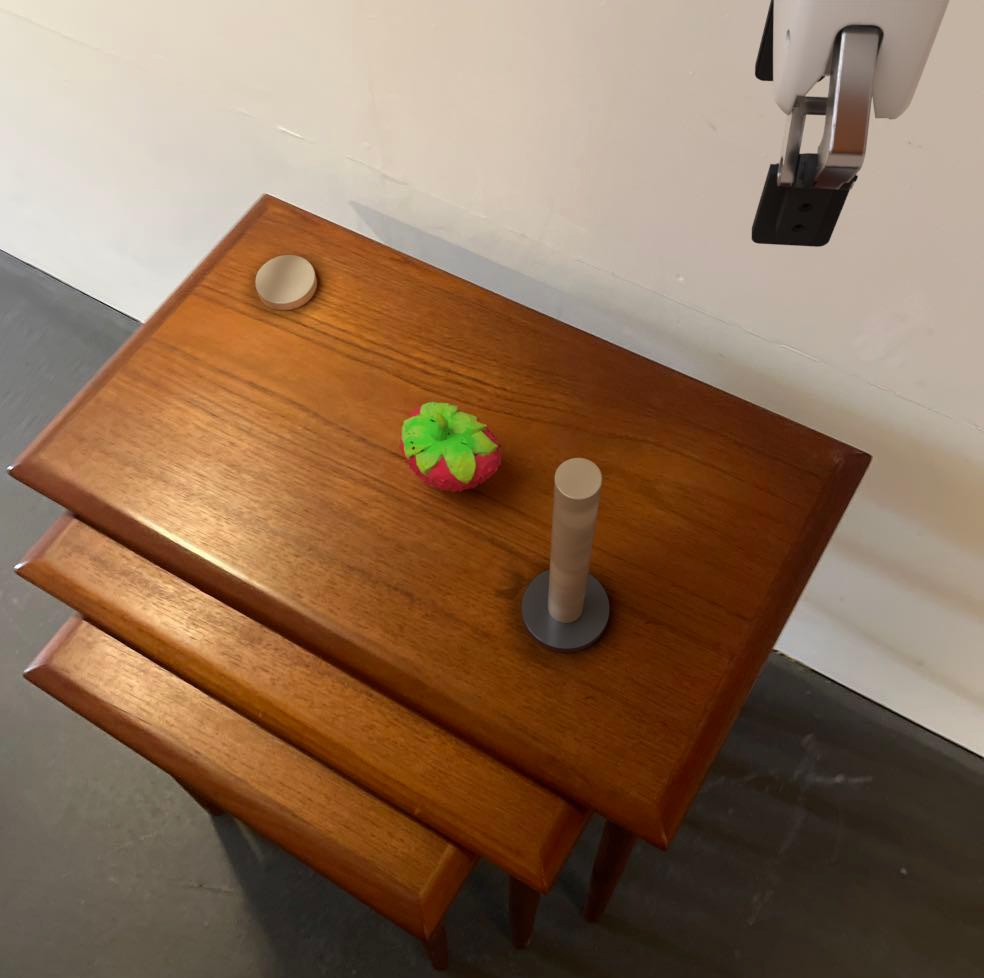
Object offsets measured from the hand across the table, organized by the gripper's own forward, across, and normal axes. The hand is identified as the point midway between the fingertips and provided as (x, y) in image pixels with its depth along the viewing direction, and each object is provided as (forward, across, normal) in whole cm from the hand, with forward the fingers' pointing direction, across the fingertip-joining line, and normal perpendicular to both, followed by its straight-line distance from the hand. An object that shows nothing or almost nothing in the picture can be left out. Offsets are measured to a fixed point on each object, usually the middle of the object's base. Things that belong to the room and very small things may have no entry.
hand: (788, 154), depth 44 cm
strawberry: (+30, -3, +17) cm, 35 cm away
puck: (+30, +14, +34) cm, 47 cm away
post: (+30, -12, +8) cm, 33 cm away
